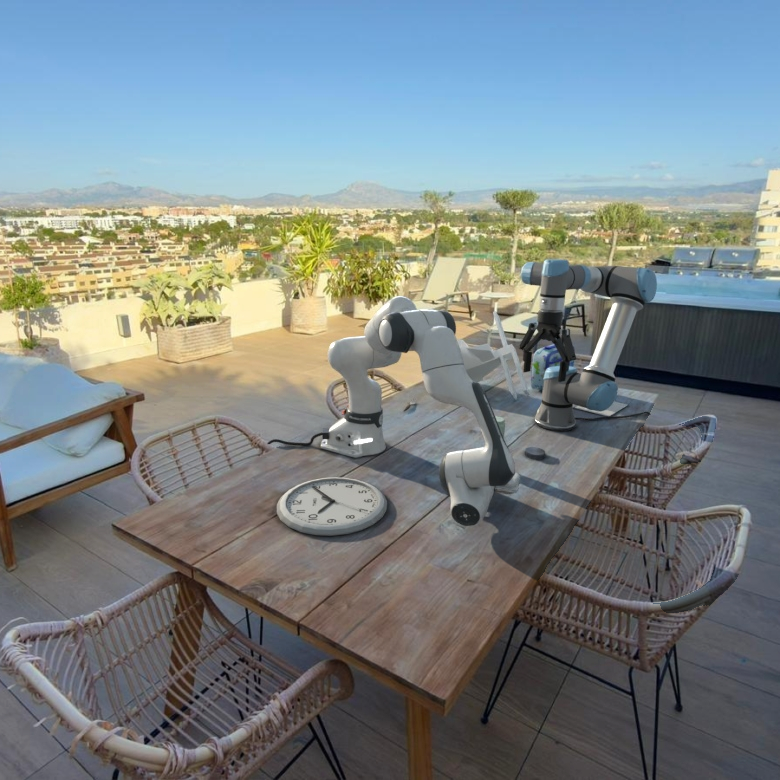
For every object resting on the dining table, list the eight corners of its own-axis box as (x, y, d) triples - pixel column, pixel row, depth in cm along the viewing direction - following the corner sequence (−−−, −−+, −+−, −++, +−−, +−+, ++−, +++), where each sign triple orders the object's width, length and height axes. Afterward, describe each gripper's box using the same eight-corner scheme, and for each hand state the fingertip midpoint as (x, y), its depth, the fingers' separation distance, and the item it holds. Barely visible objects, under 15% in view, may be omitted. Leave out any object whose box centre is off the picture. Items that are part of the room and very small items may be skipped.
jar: (502, 472, 164) (507, 422, 159) (484, 472, 164) (488, 421, 159) (499, 464, 169) (503, 416, 164) (482, 464, 169) (485, 415, 164)
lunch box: (547, 395, 239) (552, 351, 233) (526, 390, 247) (530, 347, 240) (574, 384, 257) (579, 343, 251) (554, 380, 264) (558, 339, 258)
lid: (547, 454, 178) (547, 450, 177) (541, 461, 172) (541, 456, 172) (528, 449, 181) (529, 445, 181) (521, 456, 176) (522, 451, 175)
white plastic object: (461, 429, 252) (437, 405, 227) (444, 352, 274) (420, 323, 250) (535, 404, 240) (518, 377, 215) (510, 326, 262) (492, 293, 237)
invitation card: (608, 416, 214) (573, 407, 224) (608, 416, 214) (573, 408, 224) (628, 404, 229) (594, 396, 238) (628, 405, 229) (594, 397, 238)
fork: (400, 412, 215) (400, 407, 215) (412, 400, 229) (412, 396, 229) (406, 412, 214) (406, 408, 214) (418, 401, 229) (418, 397, 228)
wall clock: (392, 527, 129) (268, 531, 127) (391, 533, 130) (269, 537, 127) (383, 473, 158) (282, 475, 155) (383, 478, 158) (282, 480, 156)
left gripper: (518, 483, 136) (524, 462, 149) (442, 470, 143) (453, 451, 155) (516, 504, 138) (522, 482, 151) (441, 490, 145) (452, 470, 157)
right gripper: (511, 306, 170) (506, 369, 176) (579, 317, 151) (570, 387, 157) (526, 304, 174) (520, 366, 180) (593, 315, 155) (584, 383, 161)
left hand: (486, 466), depth 153 cm, fingers open, 8 cm apart
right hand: (543, 376), depth 169 cm, fingers open, 13 cm apart
